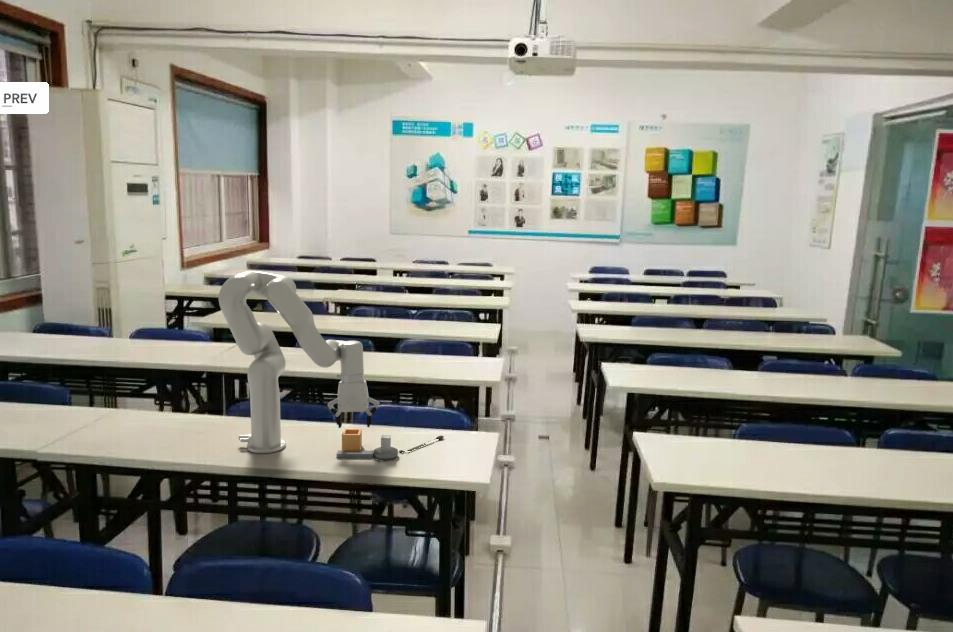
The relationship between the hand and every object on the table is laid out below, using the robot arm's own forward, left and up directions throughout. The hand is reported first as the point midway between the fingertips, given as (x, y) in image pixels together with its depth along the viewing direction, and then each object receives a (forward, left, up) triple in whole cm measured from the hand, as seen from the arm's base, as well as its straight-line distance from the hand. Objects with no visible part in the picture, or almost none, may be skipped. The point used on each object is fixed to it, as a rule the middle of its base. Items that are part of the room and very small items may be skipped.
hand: (354, 426), depth 227 cm
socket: (-1, 0, -8) cm, 8 cm away
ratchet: (+5, -7, -8) cm, 12 cm away
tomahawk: (+24, +2, -9) cm, 26 cm away
